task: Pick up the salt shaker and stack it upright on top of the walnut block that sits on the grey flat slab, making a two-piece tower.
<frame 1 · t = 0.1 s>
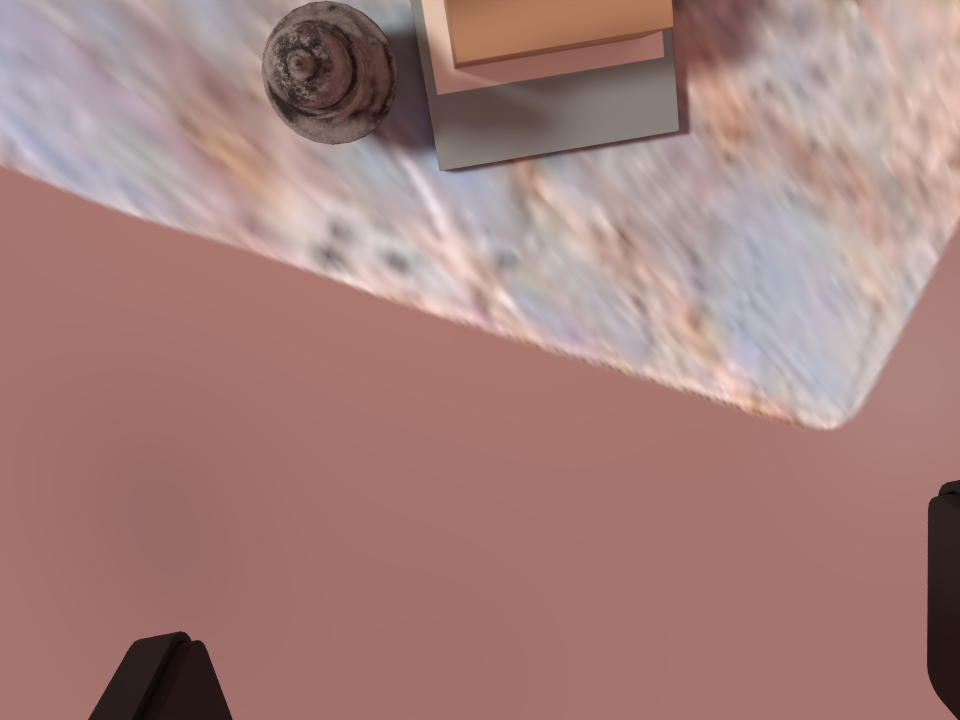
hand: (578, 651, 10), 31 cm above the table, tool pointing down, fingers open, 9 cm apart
salt shaker: (340, 78, 36), on the table
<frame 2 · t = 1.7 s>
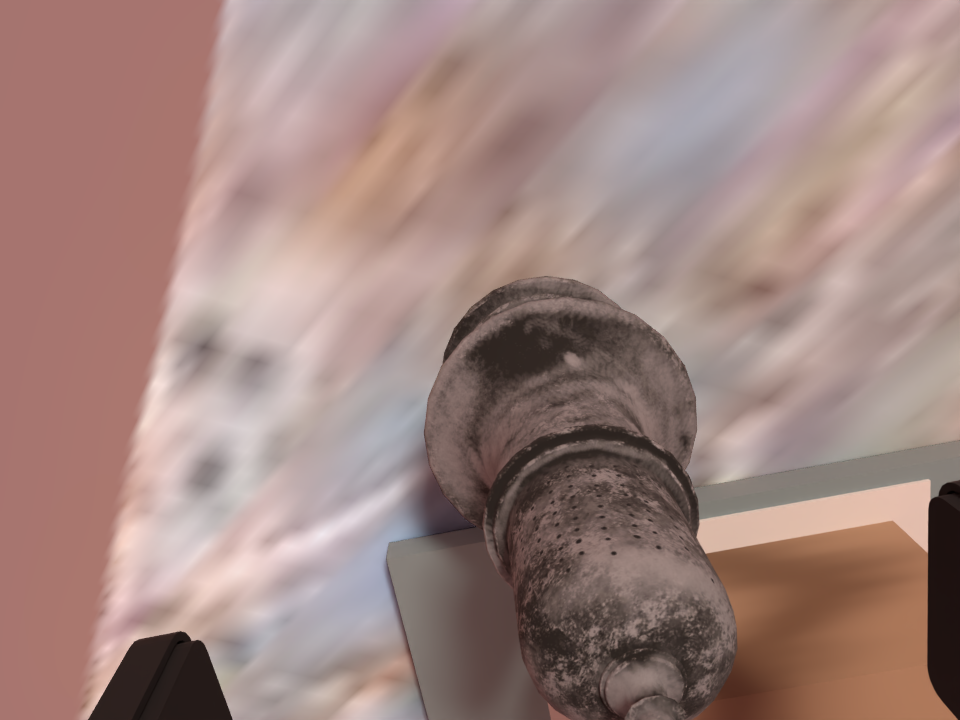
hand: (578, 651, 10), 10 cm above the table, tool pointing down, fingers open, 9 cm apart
walnut block: (738, 683, 22), point 1 cm above the table, touching grey flat slab
salt shaker: (542, 374, 20), on the table
grey flat slab: (694, 667, 22), on the table
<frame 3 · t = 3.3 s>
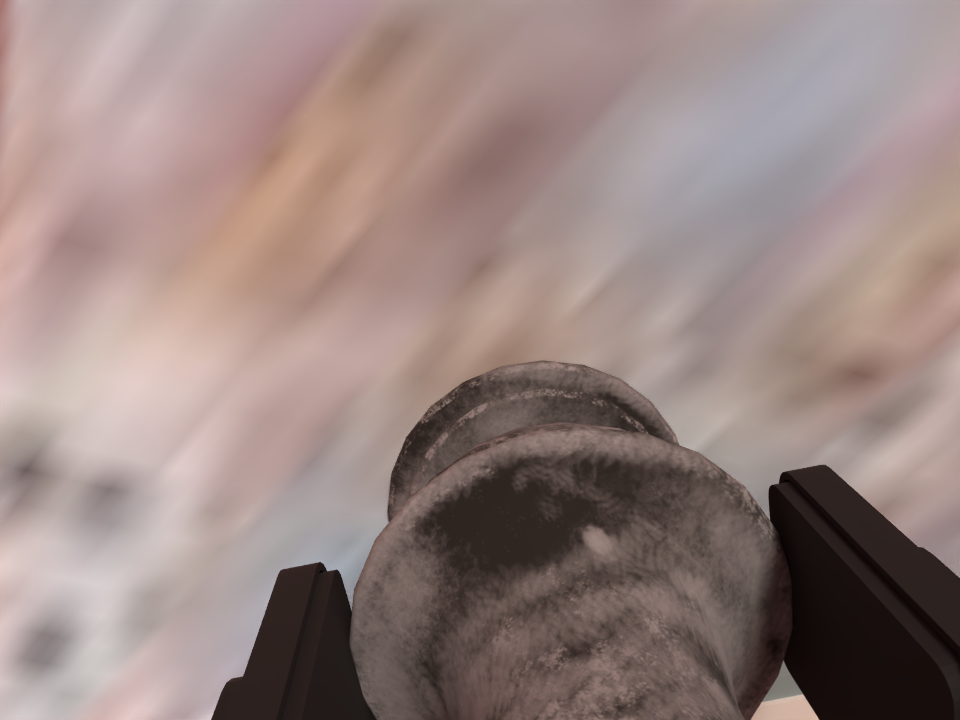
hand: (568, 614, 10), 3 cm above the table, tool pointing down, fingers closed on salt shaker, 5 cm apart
salt shaker: (537, 497, 13), on the table, touching gripper
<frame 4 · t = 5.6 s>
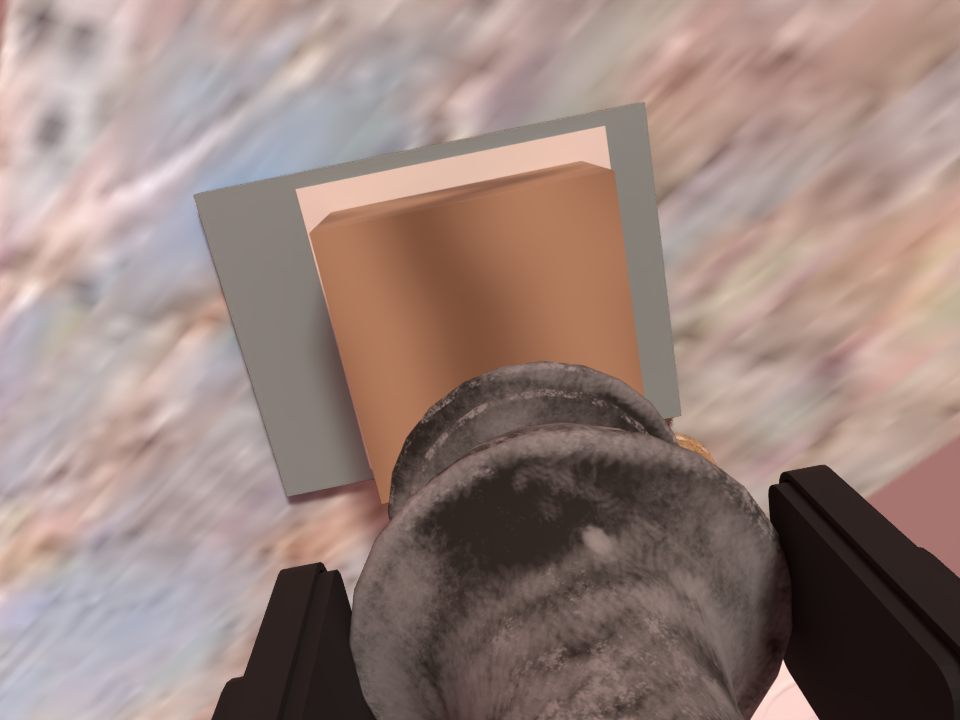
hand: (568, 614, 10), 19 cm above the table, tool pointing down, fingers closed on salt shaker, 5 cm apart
sprinkles bottle: (658, 475, 32), on the table
walnut block: (480, 308, 28), point 1 cm above the table, touching grey flat slab
salt shaker: (537, 497, 13), point 16 cm above the table, touching gripper
grey flat slab: (453, 307, 29), on the table
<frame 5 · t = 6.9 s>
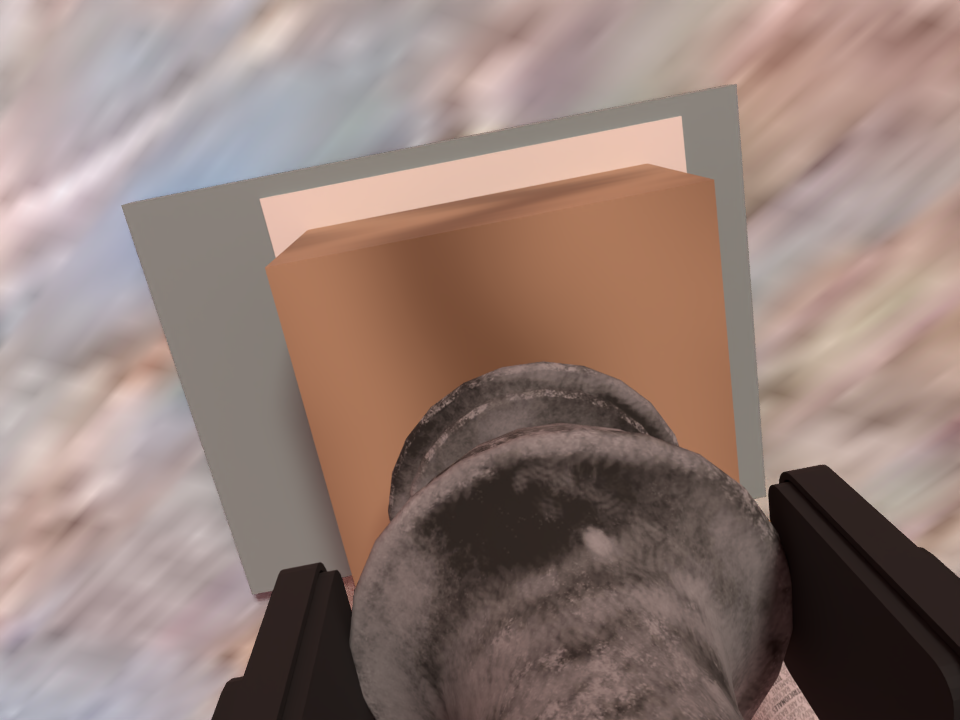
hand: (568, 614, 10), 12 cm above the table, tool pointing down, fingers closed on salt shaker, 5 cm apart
sprinkles bottle: (729, 566, 25), on the table
walnut block: (506, 357, 21), point 1 cm above the table, touching grey flat slab
salt shaker: (537, 498, 13), point 9 cm above the table, touching gripper
grey flat slab: (470, 354, 22), on the table
when the fingers open (10 cm above the table, at t = 8.1 s): salt shaker drops 1 cm, resting on walnut block.
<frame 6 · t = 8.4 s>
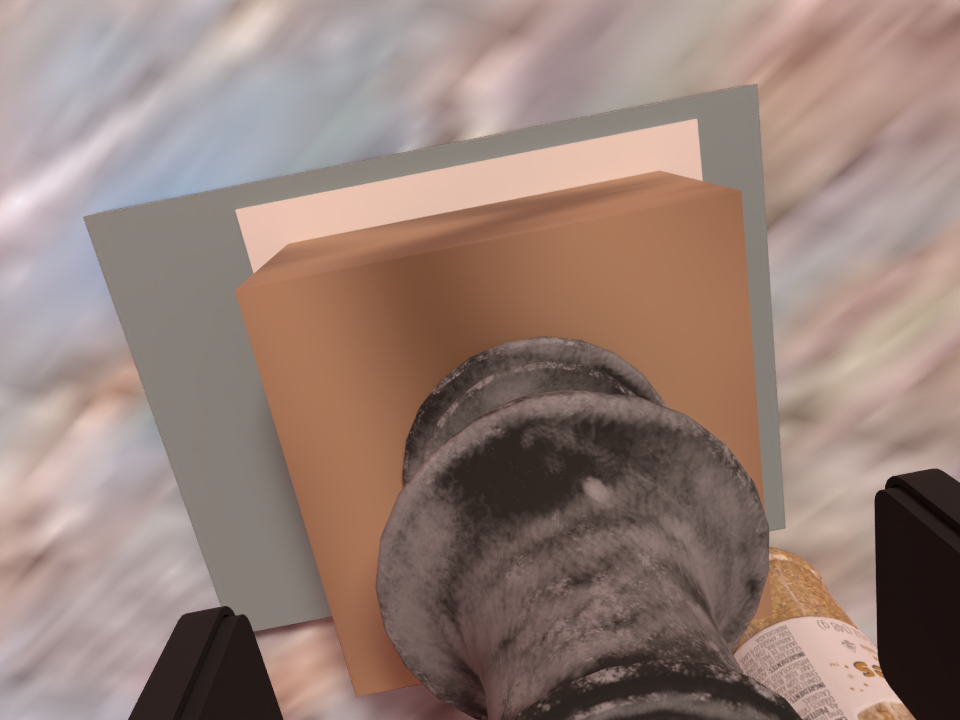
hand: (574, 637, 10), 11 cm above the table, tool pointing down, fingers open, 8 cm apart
sprinkles bottle: (744, 600, 23), on the table
walnut block: (506, 381, 19), point 1 cm above the table, touching salt shaker, grey flat slab
salt shaker: (539, 462, 15), point 6 cm above the table, touching walnut block
grey flat slab: (466, 377, 20), on the table
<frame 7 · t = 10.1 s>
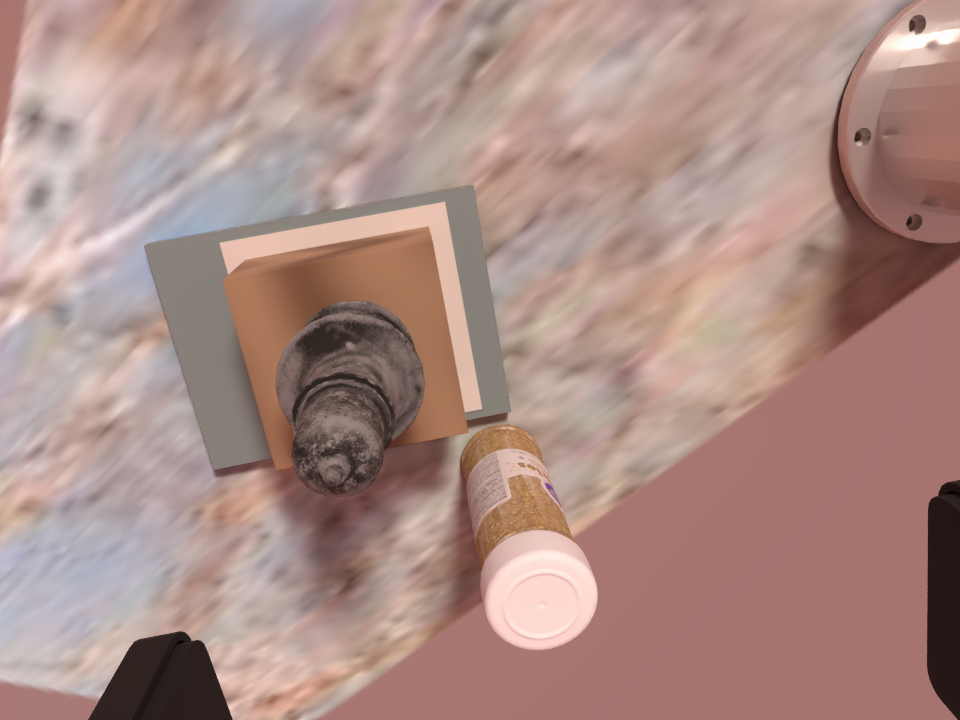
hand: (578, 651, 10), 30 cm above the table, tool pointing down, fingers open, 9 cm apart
sprinkles bottle: (499, 457, 42), on the table
walnut block: (357, 330, 38), point 1 cm above the table, touching salt shaker, grey flat slab
salt shaker: (356, 357, 33), point 6 cm above the table, touching walnut block
grey flat slab: (339, 329, 39), on the table
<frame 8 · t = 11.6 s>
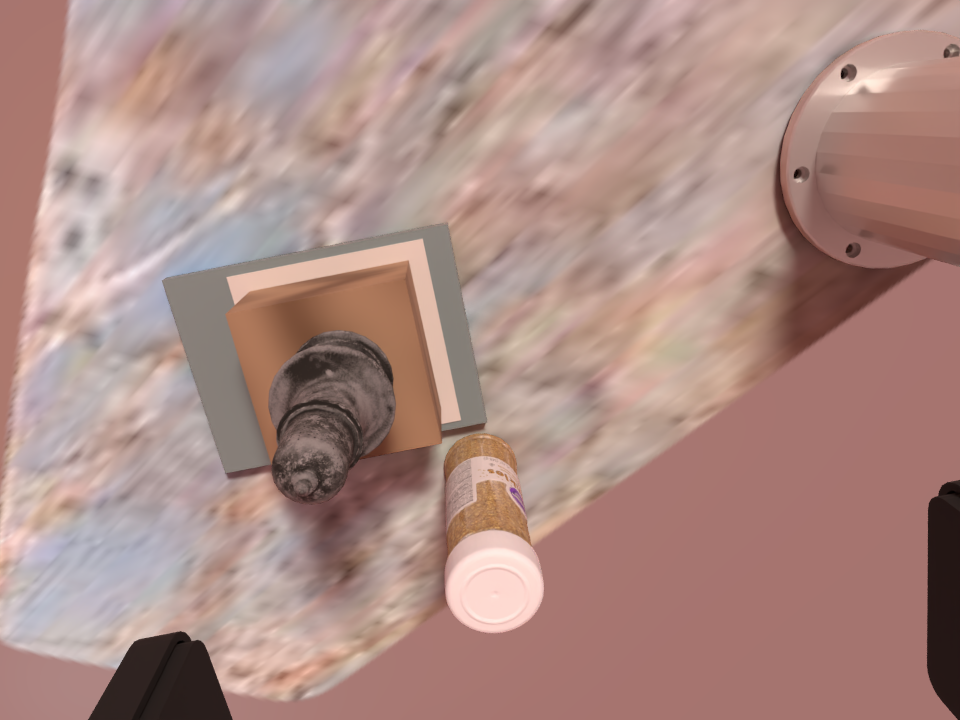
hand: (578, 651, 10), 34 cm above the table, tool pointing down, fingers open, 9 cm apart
sprinkles bottle: (479, 462, 47), on the table
walnut block: (348, 351, 43), point 1 cm above the table, touching salt shaker, grey flat slab
salt shaker: (341, 378, 38), point 6 cm above the table, touching walnut block
grey flat slab: (333, 350, 44), on the table
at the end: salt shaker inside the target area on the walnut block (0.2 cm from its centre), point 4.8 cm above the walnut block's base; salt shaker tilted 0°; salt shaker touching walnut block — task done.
